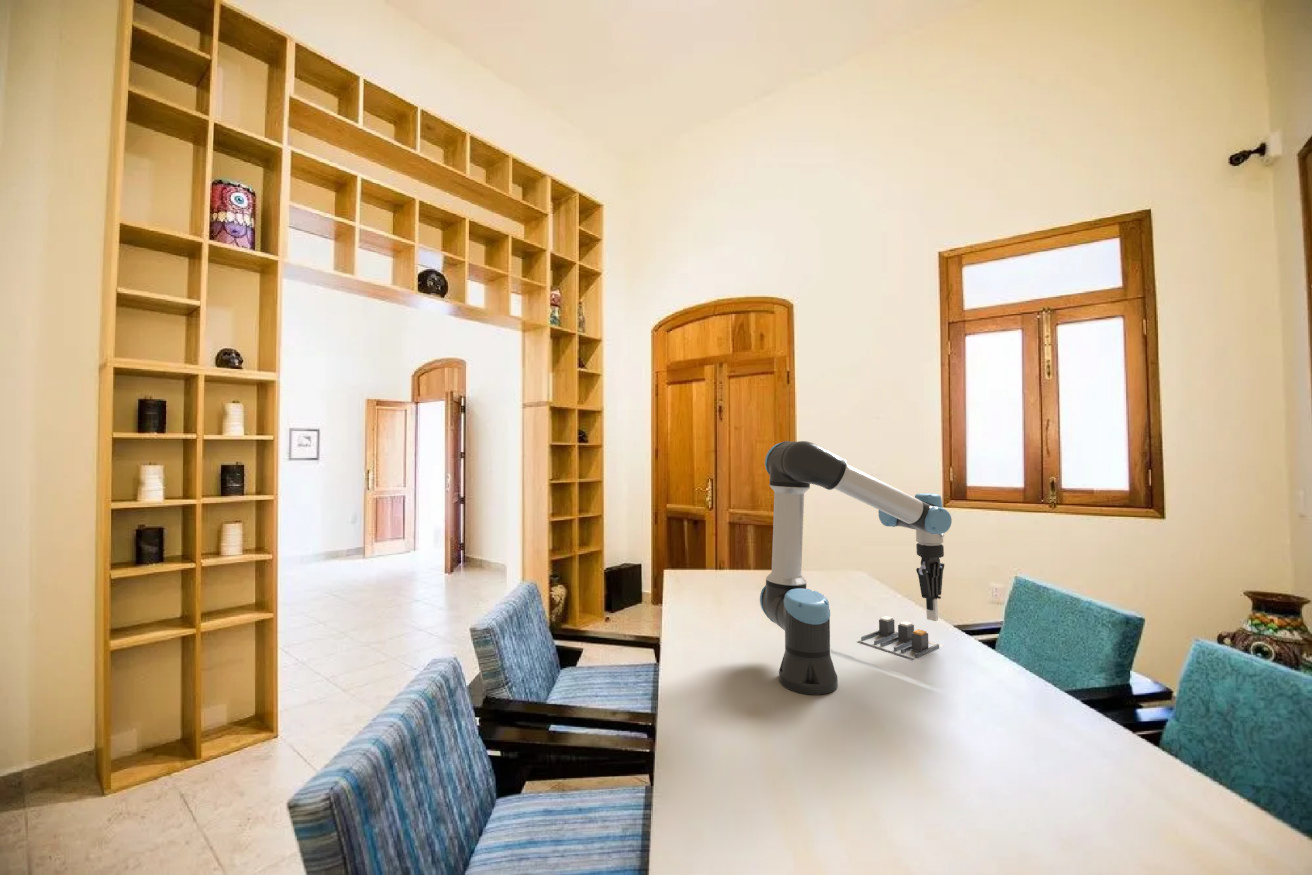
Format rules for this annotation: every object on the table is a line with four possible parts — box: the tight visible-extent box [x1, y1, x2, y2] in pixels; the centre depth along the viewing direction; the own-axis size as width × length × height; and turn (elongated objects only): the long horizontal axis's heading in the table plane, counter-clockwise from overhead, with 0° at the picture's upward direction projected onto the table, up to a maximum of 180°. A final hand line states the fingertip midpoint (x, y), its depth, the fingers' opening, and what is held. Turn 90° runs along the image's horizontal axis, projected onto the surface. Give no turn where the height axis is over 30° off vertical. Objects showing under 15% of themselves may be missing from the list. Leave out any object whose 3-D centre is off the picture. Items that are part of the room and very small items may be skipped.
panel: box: [856, 629, 944, 661], centre depth 164 cm, size 26×20×2 cm
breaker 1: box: [878, 615, 896, 637], centre depth 172 cm, size 4×3×6 cm
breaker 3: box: [911, 629, 929, 653], centre depth 159 cm, size 4×3×6 cm
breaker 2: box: [897, 620, 915, 644], centre depth 166 cm, size 4×3×6 cm
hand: (932, 619), depth 163 cm, fingers closed
